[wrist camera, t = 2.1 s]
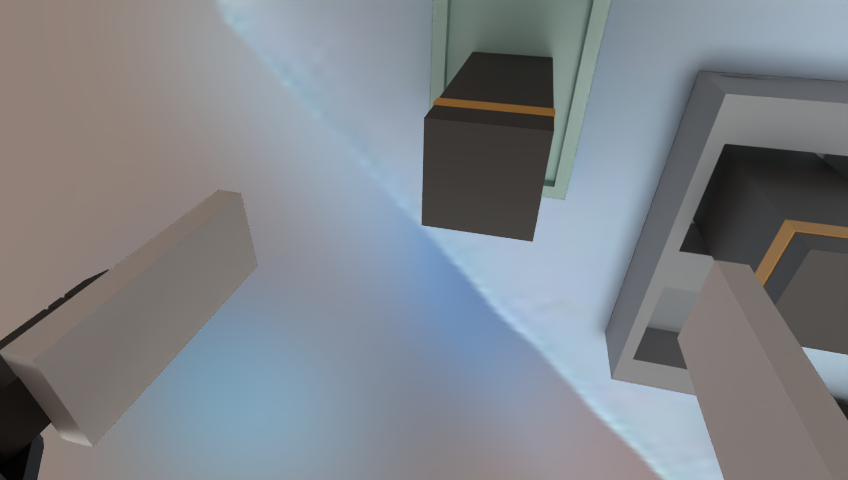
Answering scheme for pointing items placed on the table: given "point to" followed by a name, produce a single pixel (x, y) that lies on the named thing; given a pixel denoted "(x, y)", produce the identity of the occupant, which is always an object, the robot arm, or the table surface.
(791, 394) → the robot arm
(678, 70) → the table surface
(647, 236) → the socket strip
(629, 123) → the table surface
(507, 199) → the plug
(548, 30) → the tray
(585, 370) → the table surface
